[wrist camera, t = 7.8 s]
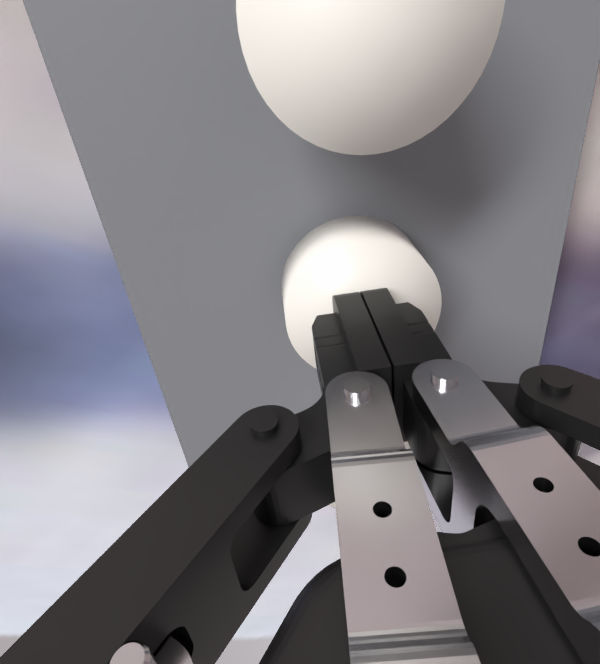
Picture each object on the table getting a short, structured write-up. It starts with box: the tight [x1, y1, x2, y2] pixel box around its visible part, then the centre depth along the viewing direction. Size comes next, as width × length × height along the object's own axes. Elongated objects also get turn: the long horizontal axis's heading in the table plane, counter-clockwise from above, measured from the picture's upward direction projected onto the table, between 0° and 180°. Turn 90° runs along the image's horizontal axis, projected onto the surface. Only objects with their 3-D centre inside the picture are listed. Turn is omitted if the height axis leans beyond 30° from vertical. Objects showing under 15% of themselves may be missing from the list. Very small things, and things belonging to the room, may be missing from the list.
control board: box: [23, 0, 600, 467], centre depth 17 cm, size 21×14×3 cm, turn 7°
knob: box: [236, 0, 505, 155], centre depth 10 cm, size 4×4×5 cm
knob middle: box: [281, 215, 442, 369], centre depth 15 cm, size 4×4×5 cm
